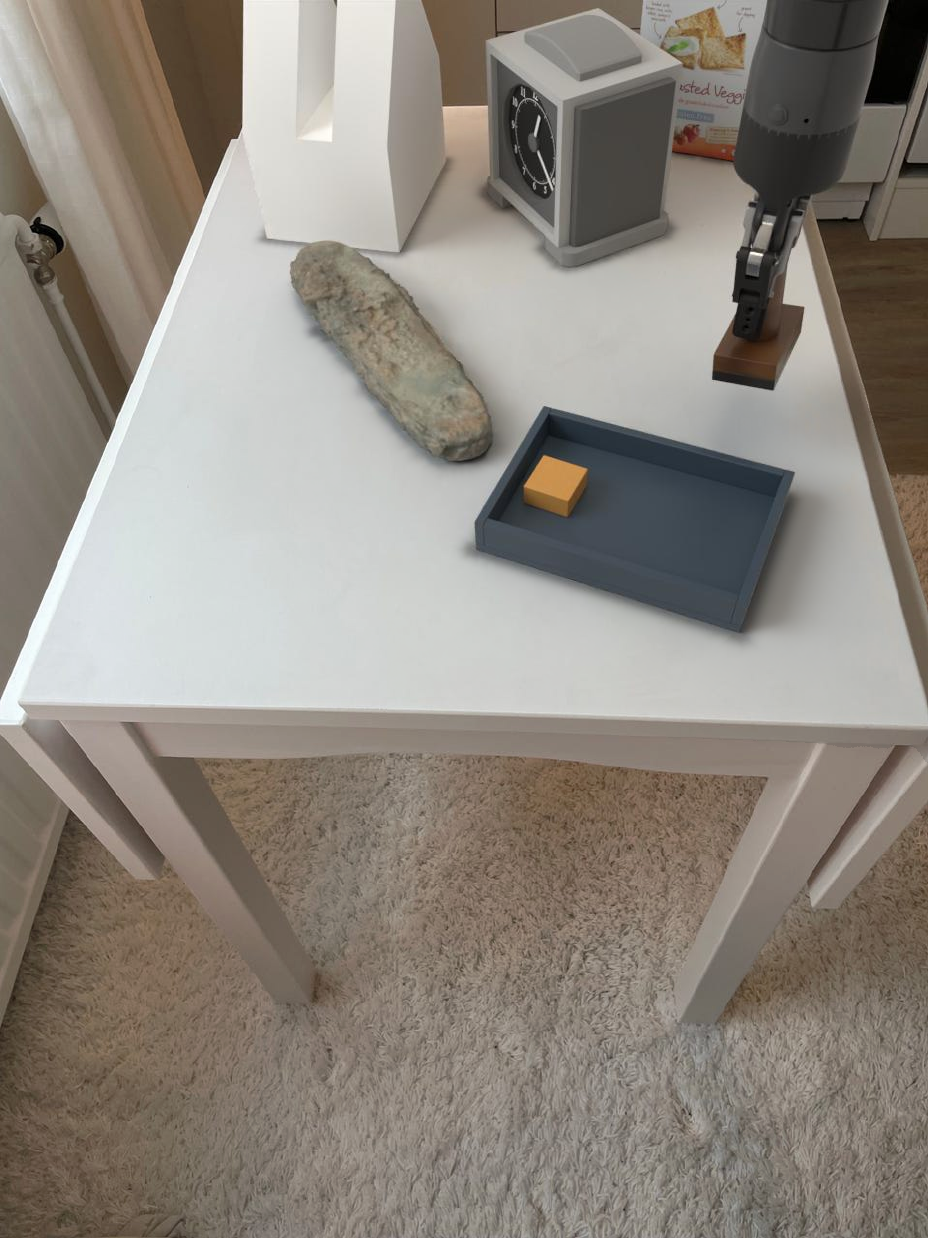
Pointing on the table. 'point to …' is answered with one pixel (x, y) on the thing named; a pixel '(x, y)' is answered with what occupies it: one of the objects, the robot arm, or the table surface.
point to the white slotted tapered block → (341, 118)
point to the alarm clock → (582, 133)
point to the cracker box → (707, 66)
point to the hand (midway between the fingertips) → (752, 321)
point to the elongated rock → (393, 349)
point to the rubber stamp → (761, 345)
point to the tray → (642, 517)
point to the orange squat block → (555, 486)
